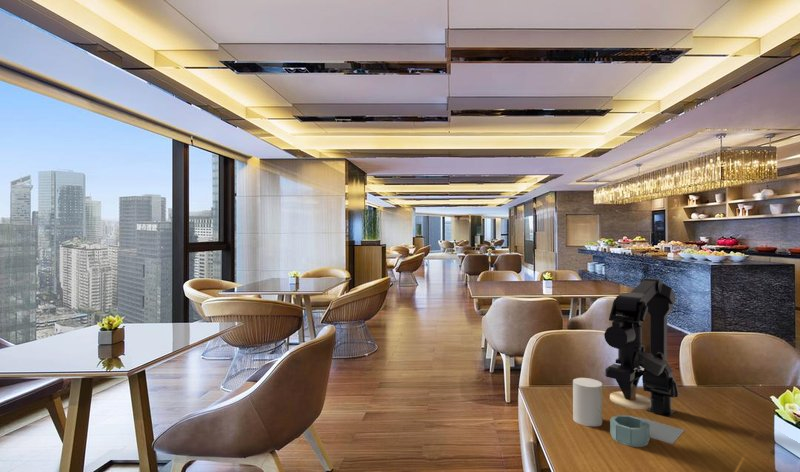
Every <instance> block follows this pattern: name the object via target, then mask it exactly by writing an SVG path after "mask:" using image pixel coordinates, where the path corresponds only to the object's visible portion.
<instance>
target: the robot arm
mask: <svg viewBox="0 0 800 472" xmlns="http://www.w3.org/2000/svg"><path fill="white" fill-rule="evenodd" d="M675 303H676V294H675V292H674V289H673V288H672V287H670V286H668V285H667V284H665V283H663V281H662V280H661V279H658V278H651V277H650V278H649V277H645V278H641V280H640V283H639V284H638V285H636V286H635V288H634V289H632V290H631V291H629V292H625V293H621V294H618V295H617V296H616V297H615V298H614V299H613V301H612V306H611V309H610V313H609V316H608V317H609V318H608V321H611V326H609V327H607V328H606V330H605V332H604V334H603V335H604V340H605V342H606V343H607V345H608V346H610V348H614V349H617V351H618V352H617V357H618V358H616V359H615V363H613V364H610V365H609V366H607V367H605V377H606V378H611V379H615V381H616V383H617V384H618V386H619V388H620V392H622V393H623V395H624V397H625V399H627V400H630V397H631V392H632V386H633V385H635V386H636V390H637V388H638V385H639V381H640V379H642V387H643V388H642V389H643V391H644V392H648V393H649V399H650V400H651V407H649V408H647V409H645V410H646V412H648V413H652V414H656V415H660V416H664V417H666V418H667V417H668V418H670V417H671V416H672V415H673V414H674V413H675V411H676V410H675V409H672V398H673V399H674V398H679V386H678V383H677V381H676V378H674V371H673V369H672V367H671V366H670V364H669V363H668V315H669V314H670V313H671V312H672V310H673V309H674V305H675ZM647 314H649V318H650V319H649V325H650V327H649V328H650V329H649V339H650V340H649V341H650V342H649V345H650V346H649V352H647V351H646V347H645V345H643V344H642V343H643V341H642V340H643V339H642V337H643V335H642V332H643V331H642V324H643V322H645V320H646V316H647ZM642 368H643V369H642Z"/></svg>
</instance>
